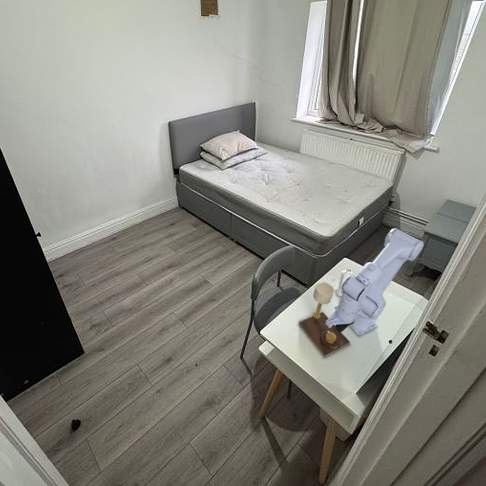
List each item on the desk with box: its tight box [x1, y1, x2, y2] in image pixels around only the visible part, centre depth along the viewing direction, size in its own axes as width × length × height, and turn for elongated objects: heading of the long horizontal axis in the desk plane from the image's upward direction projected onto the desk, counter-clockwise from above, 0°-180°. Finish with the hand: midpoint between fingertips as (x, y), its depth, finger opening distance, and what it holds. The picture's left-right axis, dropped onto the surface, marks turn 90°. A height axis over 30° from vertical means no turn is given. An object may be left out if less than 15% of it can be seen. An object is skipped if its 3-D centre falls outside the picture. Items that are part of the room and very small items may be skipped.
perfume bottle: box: [335, 267, 354, 297], centre depth 125 cm, size 5×4×15 cm
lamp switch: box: [325, 332, 336, 344], centre depth 108 cm, size 4×4×2 cm
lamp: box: [312, 281, 335, 319], centre depth 112 cm, size 6×6×17 cm
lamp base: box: [298, 311, 351, 358], centre depth 112 cm, size 12×15×4 cm
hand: (338, 330), depth 104 cm, fingers closed
